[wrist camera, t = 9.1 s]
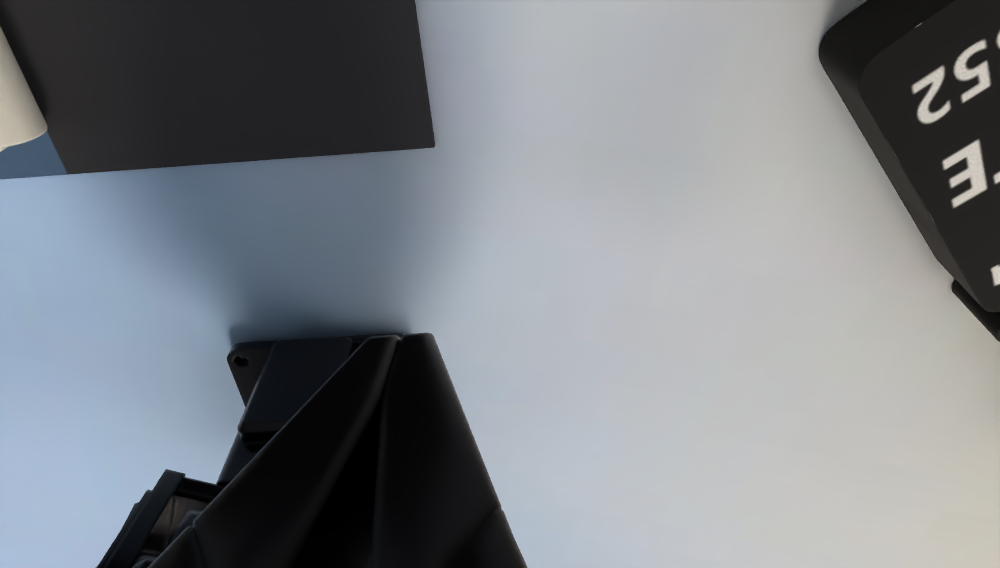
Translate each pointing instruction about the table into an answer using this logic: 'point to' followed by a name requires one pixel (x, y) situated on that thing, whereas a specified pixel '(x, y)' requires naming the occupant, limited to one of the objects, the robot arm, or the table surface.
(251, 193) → the table surface
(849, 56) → the decorative sign
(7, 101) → the hanger
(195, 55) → the mat
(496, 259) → the table surface
